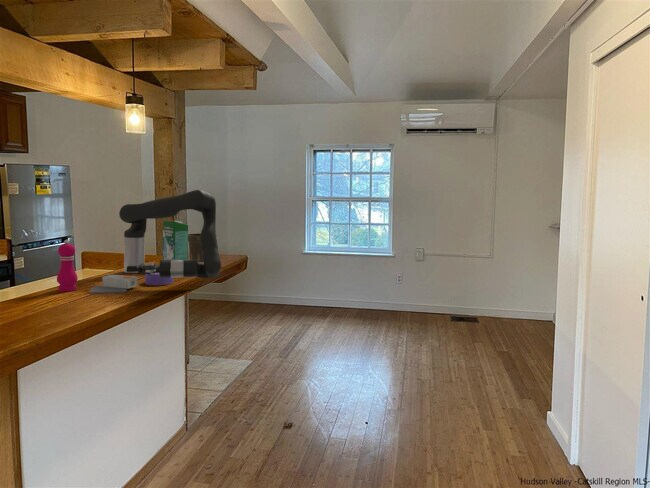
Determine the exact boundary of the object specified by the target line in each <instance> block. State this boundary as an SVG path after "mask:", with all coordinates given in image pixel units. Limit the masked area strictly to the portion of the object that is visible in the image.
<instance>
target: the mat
mask: <svg viewBox="0 0 650 488" xmlns="http://www.w3.org/2000/svg"><path fill="white" fill-rule="evenodd" d="M127 291H128V289H127V288H114V287H103V286H102V285H94V286H92V287H91V289H90V290H89V291H88V294H121V293H122V294H125V293H127Z"/></svg>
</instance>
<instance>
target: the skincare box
mask: <svg viewBox="0 0 650 488" xmlns="http://www.w3.org/2000/svg"><path fill="white" fill-rule="evenodd" d="M101 279H102V283H101V284H102V285H101V286H103V287H114V288H127V290H128V289H129V290H130V289H132V288H134V287H137V286H138V276H135V275H124V274H123V275H122V274H109V275H104V276H102V278H101Z"/></svg>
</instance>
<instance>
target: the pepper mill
mask: <svg viewBox="0 0 650 488" xmlns="http://www.w3.org/2000/svg"><path fill="white" fill-rule="evenodd" d="M57 253H58V254H59V255H60V256H59V260H60V268H59V270H58V273H57V275H56V282H57V283H58V284H59V285H58V288H57V290H58V291H59V292H63V291H67V292H74V291H76V290H77V284H76V283H77V282H78V273H77V272H76V270H75V267H74V260H75V256H74V254H75V253H76V247H75V245H73V244H71V243H70V240H68V239H65V240H64V241H63V244H60V245H59V246H58V248H57ZM73 290H74V291H73Z"/></svg>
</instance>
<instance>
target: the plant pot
mask: <svg viewBox="0 0 650 488" xmlns="http://www.w3.org/2000/svg"><path fill="white" fill-rule="evenodd" d="M200 234H201V232H200V233H196V232H195V233H188V251H189V260H195V261H197V262H204V258H203V254H202V251H201V244H200ZM216 237H217V234H216Z"/></svg>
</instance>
